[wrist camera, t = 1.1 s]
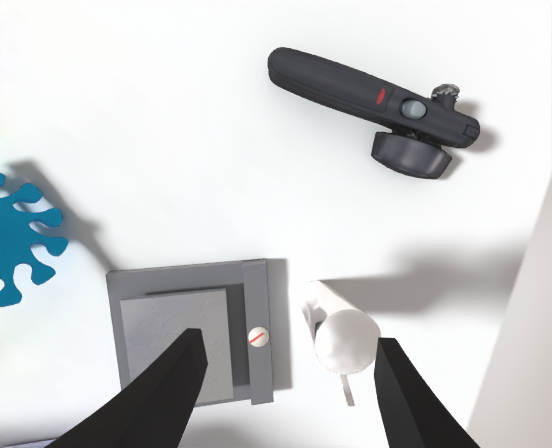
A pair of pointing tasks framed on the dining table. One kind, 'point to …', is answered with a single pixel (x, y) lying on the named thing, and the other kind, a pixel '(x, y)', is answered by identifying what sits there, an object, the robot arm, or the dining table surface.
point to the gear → (25, 240)
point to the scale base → (240, 306)
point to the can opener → (382, 110)
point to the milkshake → (338, 332)
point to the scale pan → (171, 324)
